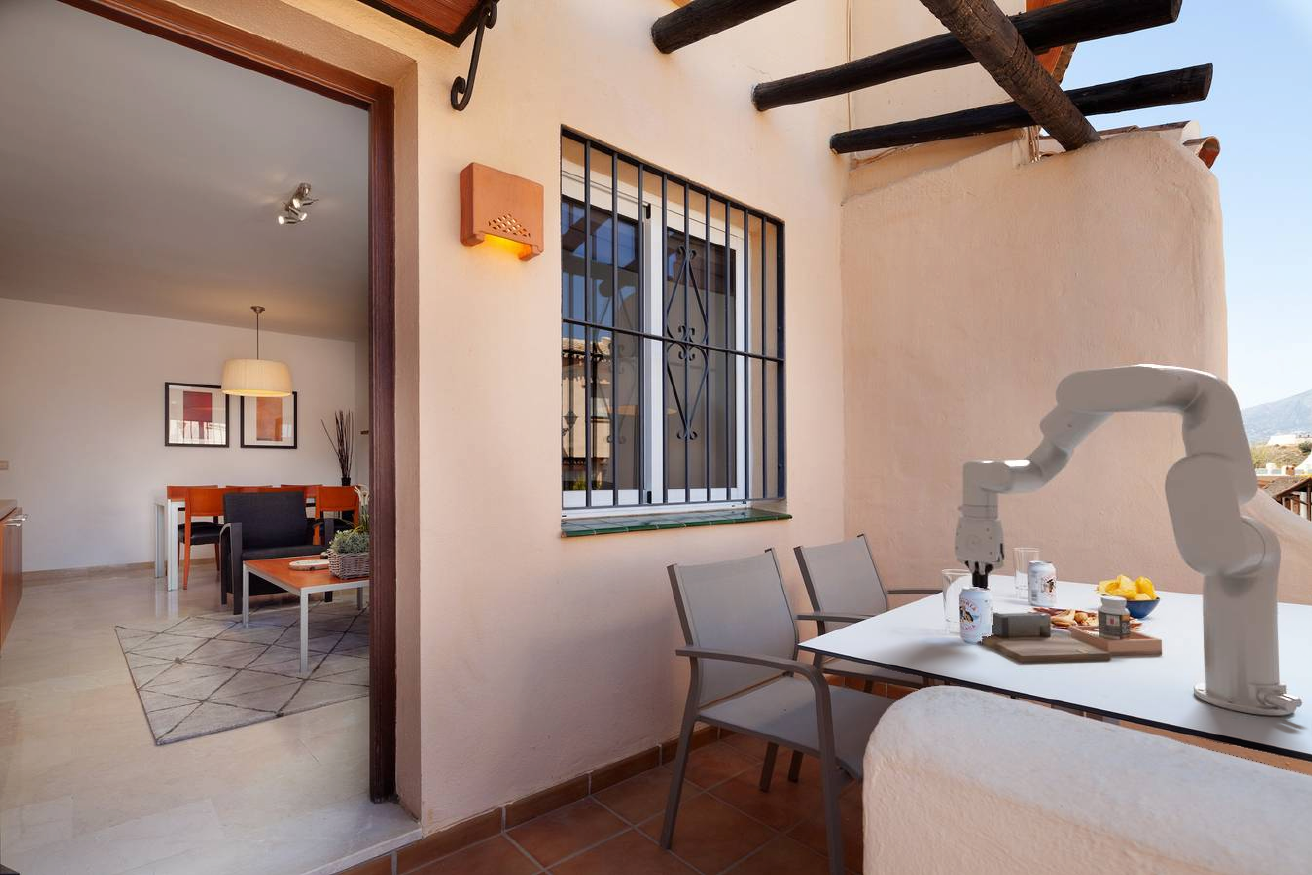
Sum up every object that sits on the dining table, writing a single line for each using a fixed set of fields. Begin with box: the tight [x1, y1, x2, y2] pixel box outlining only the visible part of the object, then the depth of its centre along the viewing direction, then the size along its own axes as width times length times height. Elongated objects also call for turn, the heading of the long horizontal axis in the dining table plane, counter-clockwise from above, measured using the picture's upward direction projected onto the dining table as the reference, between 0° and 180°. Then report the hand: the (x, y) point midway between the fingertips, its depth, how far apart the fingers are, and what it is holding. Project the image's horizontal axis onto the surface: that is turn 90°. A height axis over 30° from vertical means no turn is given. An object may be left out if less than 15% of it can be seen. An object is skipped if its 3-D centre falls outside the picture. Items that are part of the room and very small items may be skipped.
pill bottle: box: [1097, 594, 1131, 640], centre depth 143 cm, size 6×6×10 cm
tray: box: [1067, 624, 1163, 657], centre depth 143 cm, size 12×12×3 cm
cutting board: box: [981, 632, 1111, 664], centre depth 140 cm, size 16×19×2 cm
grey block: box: [991, 611, 1052, 638], centre depth 147 cm, size 13×4×4 cm, turn 94°
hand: (980, 590), depth 153 cm, fingers closed
